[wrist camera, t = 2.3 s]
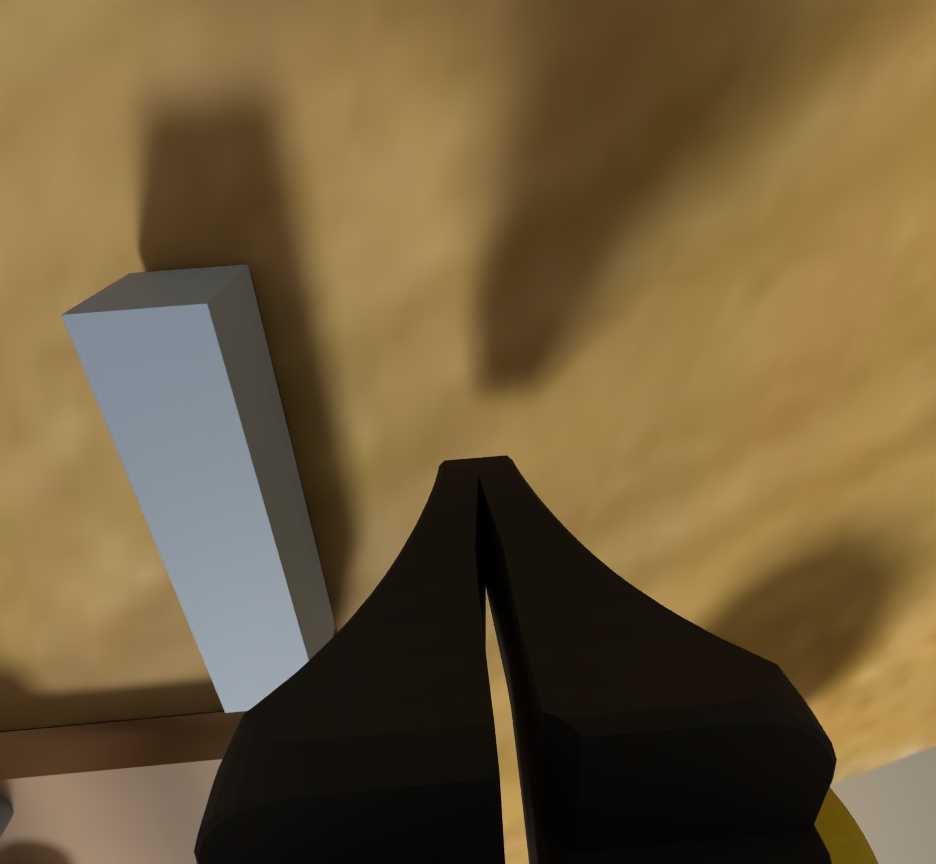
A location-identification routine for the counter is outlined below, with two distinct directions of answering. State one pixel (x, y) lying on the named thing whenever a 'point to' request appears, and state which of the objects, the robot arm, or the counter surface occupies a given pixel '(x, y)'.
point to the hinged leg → (210, 466)
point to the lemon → (842, 833)
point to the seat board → (110, 789)
